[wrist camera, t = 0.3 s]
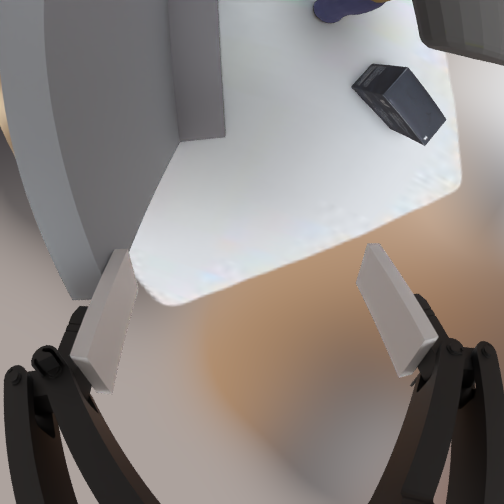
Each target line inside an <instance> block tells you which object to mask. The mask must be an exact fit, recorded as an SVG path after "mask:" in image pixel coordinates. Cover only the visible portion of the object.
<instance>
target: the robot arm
mask: <svg viewBox="0 0 504 504" xmlns="http://www.w3.org/2000/svg"><path fill="white" fill-rule="evenodd" d="M356 284H357V286H358V288H359V290H360V292H361V294H362V296H363V298H364V301H365V303H366V305H367V307H368V309H369V311H370V313H371V315H372V317H373V320H374V322H375V324H376V326H377V328H378V330H379V333H380V335H381V337H382V340H383V342H384V344H385V346H386V349H387V351H388V353H389V356H390V358H391V360H392V363H393V365H394V367H395V370H396V372H397V375H398V377H403V376H407V375H411V374H413V372H414V371H415V370H416V368H417V367H418V369H419V371H420V373H419V374H418V376H417V377H416V378H415V379H414V381H413V382H412V383H411V385H410V386H413V385H414V384H415V387H414V390H413V394H412V397H411V401H410V404H409V407H408V410H407V414H406V417H405V420H404V422H403V425H402V428H401V431H400V434H399V436H398V439H397V442H396V444H395V447H394V449H393V452H392V454H391V457H390V459H389V462H388V464H387V466H386V468H385V471H384V473H383V475H382V477H381V480H380V482H379V484H378V486H377V488H376V490H375V492H374V494H373V496H372V498H371V500H370V501H369V503H368V504H434V503H433V498H434V495H435V492H436V489H437V486H438V483H439V480H440V477H441V474H442V471H443V468H444V465H445V461H446V458H447V454H448V450H449V447H450V443H451V444H452V445H451V463H450V475H449V485H448V493H447V500H446V504H504V390H503V384H502V379H501V373H500V368H499V363H498V358H497V354H496V351H495V349H494V347H493V346H492V345H491V344H489V343H488V342H485V341H481V342H479V343H478V344H477V346H476V347H475V348H467V347H463V346H462V344H461V343H460V342H459V341H457V340H456V339H453V338H449V337H448V336H447V334H446V332H445V330H444V329H443V327H442V325H441V324H440V322H439V320H438V319H437V317H436V316H435V314H434V312H433V311H432V310H431V307H430V306H429V304H428V303H427V301H426V300H425V299H424V298H423V297H422V296H421V295H419V294H413V293H412V291H411V290H410V288H409V287H408V285H407V283H406V282H405V280H404V279H403V277H402V276H401V274H400V273H399V271H398V270H397V268H396V267H395V265H394V264H393V262H392V261H391V259H390V258H389V256H388V255H387V254H386V252H385V251H384V249H383V248H382V246H381V245H380V244H367V247H366V250H365V254H364V257H363V261H362V265H361V268H360V271H359V274H358V277H357V281H356ZM138 290H139V289H138V285H137V282H136V278H135V274H134V271H133V267H132V263H131V259H130V255H129V251H128V249H114V251H113V253H112V255H111V257H110V259H109V261H108V264H107V266H106V268H105V270H104V272H103V274H102V276H101V279H100V281H99V283H98V285H97V288H96V290H95V292H94V294H93V297H92V299H91V301H90V304H89V306H79V307H78V309H77V310H76V311H75V312H74V313H73V314H72V316H71V319H70V321H69V325H68V326H67V328H66V332H65V333H64V336H63V338H62V341H61V343H60V346H59V348H58V350H57V349H56V348H55V347H53V346H50V345H46V346H43V347H40V348H39V349H38V350H37V351H36V352H35V353H34V354H33V357H32V360H31V363H32V367H33V368H34V369H35V370H36V371H30V372H27V371H26V370H25V369H24V368H23V367H22V366H20V365H16V366H13V367H11V368H10V369H9V370H8V371H7V373H6V374H5V379H4V422H5V436H6V446H7V454H8V462H9V469H10V475H11V481H12V486H13V491H14V495H15V500H16V504H78V503H77V500H76V497H75V493H74V490H73V487H72V483H71V480H70V476H69V472H68V468H67V465H66V460H65V456H64V452H63V447H62V442H61V437H60V431H59V427H60V430H61V432H62V434H63V437H64V439H65V441H66V443H67V445H68V448H69V450H70V452H71V454H72V455H73V458H74V460H75V462H76V464H77V466H78V468H79V470H80V471H81V473H82V475H83V477H84V479H85V481H86V482H87V484H88V486H89V488H90V489H91V491H92V493H93V494H94V496H95V498H96V499H97V501H98V502H99V504H160V502H159V501H158V500H157V499H156V497H155V496H154V495H153V494H152V493H151V491H150V490H149V488H148V487H147V486H146V484H145V483H144V482H143V480H142V479H141V477H140V476H139V475H138V473H137V472H136V470H135V469H134V467H133V466H132V464H131V463H130V461H129V460H128V458H127V457H126V455H125V454H124V452H123V451H122V449H121V447H120V446H119V444H118V443H117V441H116V440H115V438H114V436H113V434H112V433H111V431H110V429H109V427H108V426H107V424H106V422H105V420H104V418H103V417H102V415H101V413H100V411H99V409H98V407H97V405H96V403H95V401H94V399H93V397H92V396H91V394H90V391H91V386H92V387H93V388H94V390H95V391H96V392H97V393H104V394H112V393H113V388H114V383H115V379H116V374H117V370H118V365H119V361H120V357H121V352H122V348H123V344H124V340H125V337H126V333H127V329H128V325H129V321H130V318H131V314H132V311H133V307H134V303H135V300H136V297H137V293H138ZM475 383H476V388H475ZM451 439H452V442H451Z"/></svg>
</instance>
